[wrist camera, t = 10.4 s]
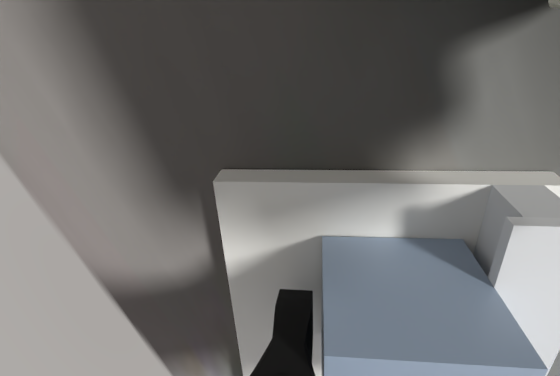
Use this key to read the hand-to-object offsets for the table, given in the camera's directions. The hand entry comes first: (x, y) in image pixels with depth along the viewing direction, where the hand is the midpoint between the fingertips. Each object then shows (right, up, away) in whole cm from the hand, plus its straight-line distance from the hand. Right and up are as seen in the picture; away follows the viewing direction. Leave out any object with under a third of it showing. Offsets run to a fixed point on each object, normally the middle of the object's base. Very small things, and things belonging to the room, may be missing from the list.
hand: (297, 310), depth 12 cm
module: (+3, 0, 0) cm, 3 cm away
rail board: (+3, 0, +2) cm, 4 cm away
